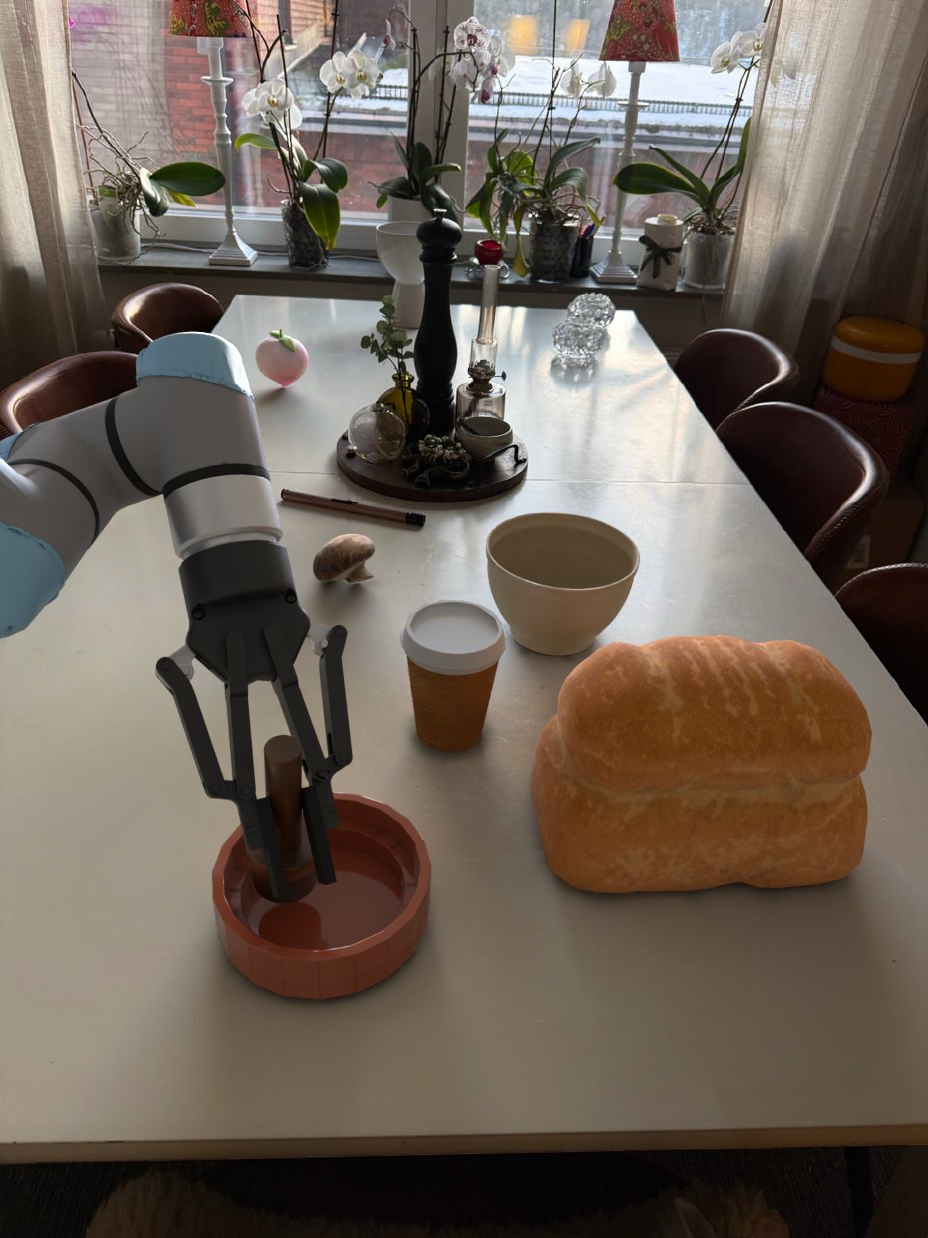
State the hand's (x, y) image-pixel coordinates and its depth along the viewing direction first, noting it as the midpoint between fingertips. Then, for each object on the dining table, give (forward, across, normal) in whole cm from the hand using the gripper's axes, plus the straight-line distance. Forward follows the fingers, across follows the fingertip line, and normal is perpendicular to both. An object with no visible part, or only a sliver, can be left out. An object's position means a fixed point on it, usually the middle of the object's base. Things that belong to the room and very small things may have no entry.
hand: (304, 888), depth 62 cm
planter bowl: (-16, -37, -28) cm, 49 cm away
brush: (-1, 0, -8) cm, 8 cm away
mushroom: (-29, -19, -42) cm, 54 cm away
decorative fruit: (-75, -28, -88) cm, 119 cm away
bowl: (+3, -2, -9) cm, 10 cm away
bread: (+5, -34, -7) cm, 35 cm away
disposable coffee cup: (-8, -20, -20) cm, 30 cm away
